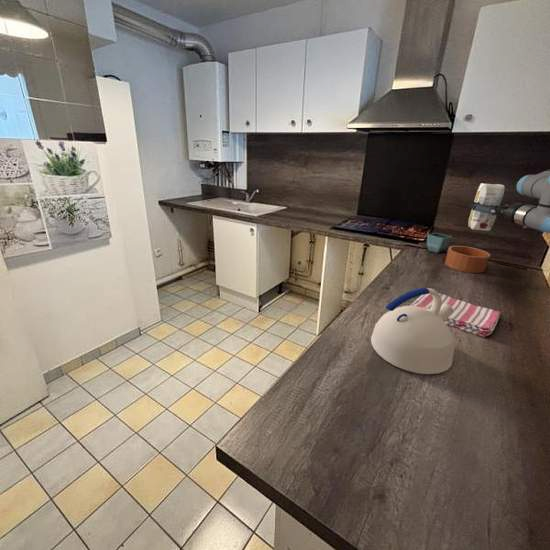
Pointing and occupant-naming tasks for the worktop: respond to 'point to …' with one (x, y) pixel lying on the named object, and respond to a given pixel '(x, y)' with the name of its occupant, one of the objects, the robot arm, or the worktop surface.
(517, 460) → the worktop surface
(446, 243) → the flower pot
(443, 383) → the worktop surface
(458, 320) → the dish towel
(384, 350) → the kettle
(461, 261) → the pot
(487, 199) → the juice carton
